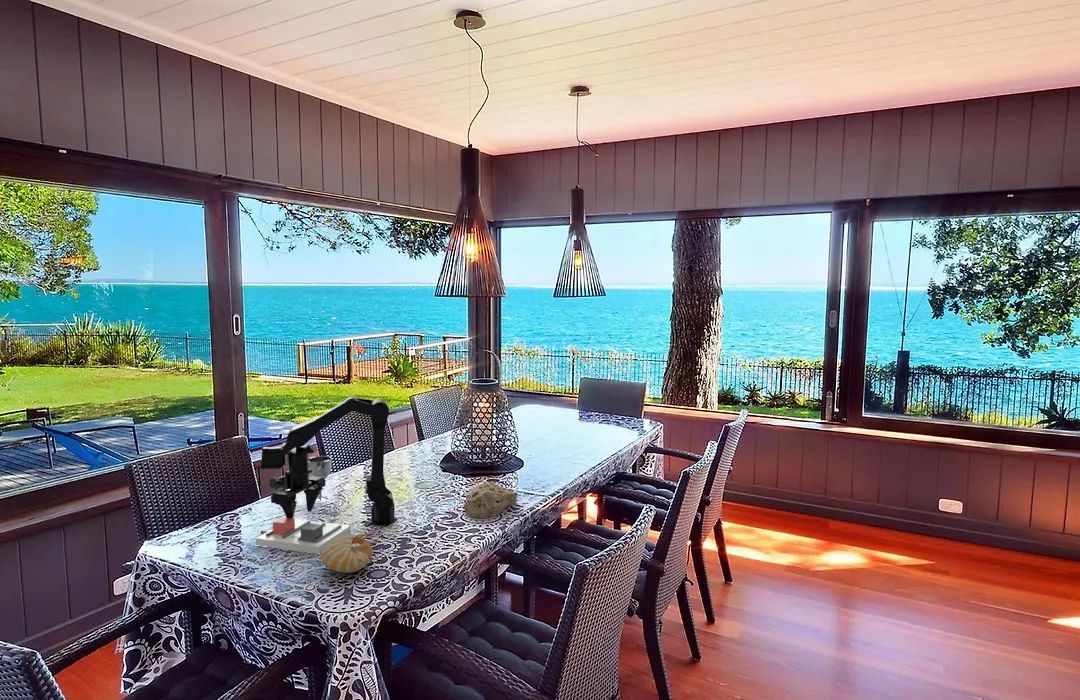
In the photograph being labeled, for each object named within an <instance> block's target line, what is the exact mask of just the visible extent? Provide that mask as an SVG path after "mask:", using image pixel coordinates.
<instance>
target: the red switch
mask: <svg viewBox="0 0 1080 700" xmlns="http://www.w3.org/2000/svg"><path fill="white" fill-rule="evenodd" d="M295 519H296V518H294V517H293V518H287V517H286V516H285V517H283V516H282V517H279V518H278V519H276V520H274V521H272V529H273V533H274V534H281V535H284V534H286V533H288V532H290V531H291V530H293V529H295Z"/></svg>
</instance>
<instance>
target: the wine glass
mask: <svg viewBox="0 0 1080 700" xmlns="http://www.w3.org/2000/svg"><path fill="white" fill-rule="evenodd" d="M308 464H309V469H312V472H311V473H309V477H310V476H316V477H323V478H324V479H325V480H326V479H327V478H328V477H329V475H330V473H331V469H332V457H331V456H329V455H317V456H311V457H308ZM327 497H328V496H322V491H321V492H320V494H319V496H318V498H317V500H316V501H325V500H327V499H328V498H327Z"/></svg>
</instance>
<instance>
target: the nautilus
mask: <svg viewBox="0 0 1080 700" xmlns="http://www.w3.org/2000/svg"><path fill="white" fill-rule="evenodd" d="M367 530H368V529H366V530H365V531H364V532H361V533H358V534H354V533H350V534H349V535H346V536H342V537H339V538H337V539H335V540H333V541H332V542H331V543H330V544H329V545H328V546H327V547H326V548H325V549H324V550H323V551H322V552H321V554H319V559H320V561H321V562H322V563H323V564H324V565H325V566H326V567H327V569H330V570H333V571H335V572H338V573H343V574H349V573H357V572H358V571H360V570H361V569H364V568H365V567H366V566H367V565H368V563H369V562H370V561H371V560H372V557H373V555H375V554H376V555H377V554H380V552H376V551H378V549H375V550H374V548H373V547H376V546H377V544H375V545H374V543H378V546H381V545H382V543H381V540H368V539H369V538H371V537H372V538H378V537H380V536H382V534H381V533H376V534H375V533H373V532H375V530H376V529H374V530H373V531H371V532H369V533H366V532H367ZM372 544H373V545H372ZM373 552H374V553H373Z"/></svg>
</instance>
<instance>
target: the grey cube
mask: <svg viewBox="0 0 1080 700" xmlns="http://www.w3.org/2000/svg"><path fill="white" fill-rule="evenodd" d="M322 535H323V526H322V525H319V524H311V523H309V524H307V525H306V526H304V527H302V528H301V540H303V541H310V542H315V540H316V539H318V538H319V537H321V536H322Z"/></svg>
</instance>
